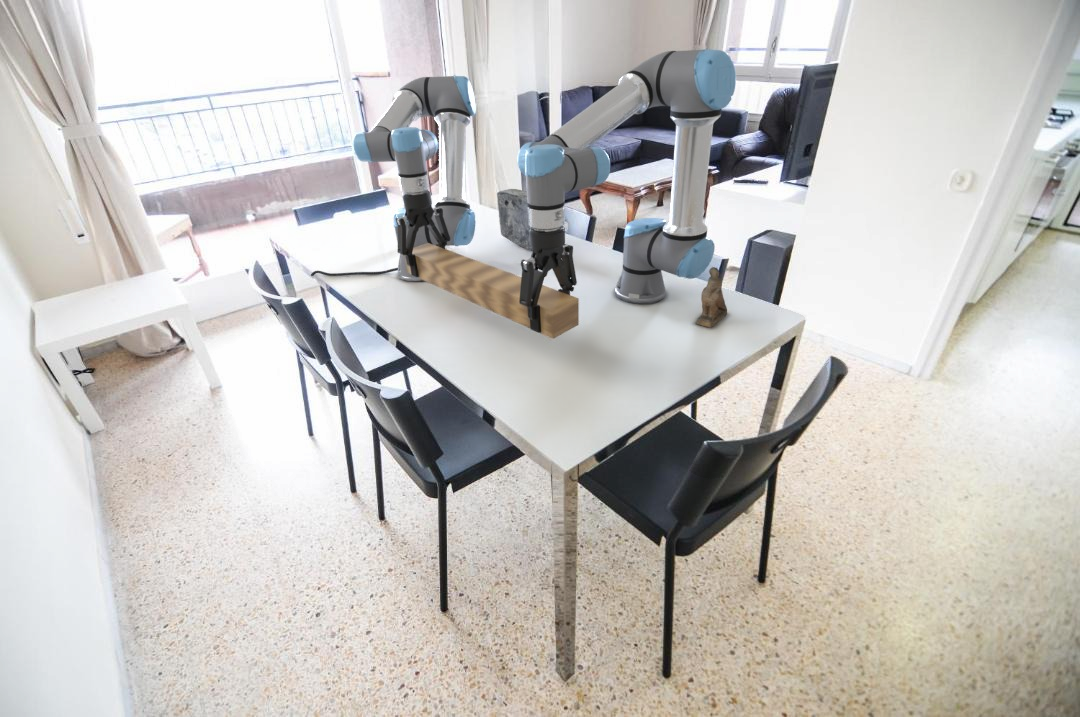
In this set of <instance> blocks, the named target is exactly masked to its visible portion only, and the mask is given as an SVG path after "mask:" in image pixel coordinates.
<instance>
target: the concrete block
mask: <svg viewBox="0 0 1080 717" xmlns="http://www.w3.org/2000/svg"><path fill="white" fill-rule="evenodd" d="M496 197H497V208H498V219H499V221H498V222H499V228H500V234H501V236H503V238H505V239H507V240H508V241H511V243H514V244H515V245H517V246H519V247H522V248H523V249H526V250H529V251H532V247H531V245H530V241H529V229H530V226H529V224H528V201H527V190H522V189H517V188H508V189H503V190H500V191H498V192H497V193H496Z"/></svg>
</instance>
